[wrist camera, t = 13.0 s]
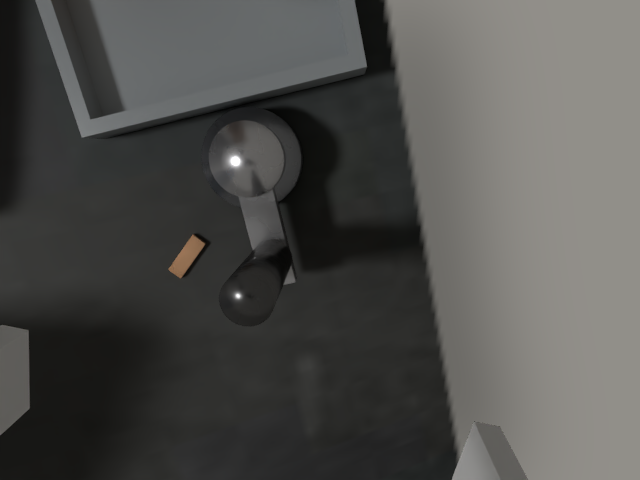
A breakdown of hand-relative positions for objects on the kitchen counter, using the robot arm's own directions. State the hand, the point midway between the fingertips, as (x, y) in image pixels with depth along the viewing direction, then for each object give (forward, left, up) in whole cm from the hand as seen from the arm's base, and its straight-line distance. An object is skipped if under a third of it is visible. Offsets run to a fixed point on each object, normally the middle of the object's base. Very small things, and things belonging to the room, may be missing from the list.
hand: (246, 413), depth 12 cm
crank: (-4, -2, -17) cm, 18 cm away
